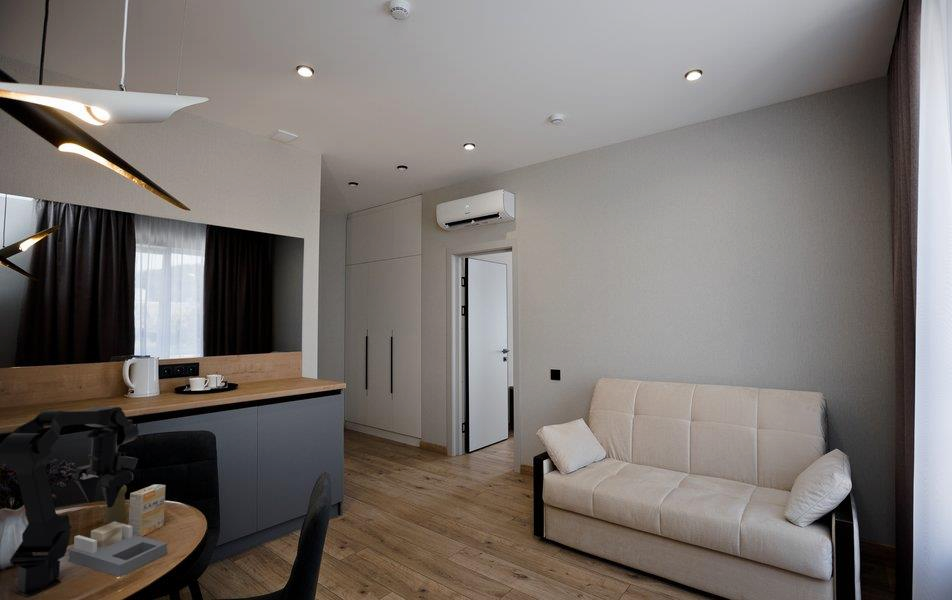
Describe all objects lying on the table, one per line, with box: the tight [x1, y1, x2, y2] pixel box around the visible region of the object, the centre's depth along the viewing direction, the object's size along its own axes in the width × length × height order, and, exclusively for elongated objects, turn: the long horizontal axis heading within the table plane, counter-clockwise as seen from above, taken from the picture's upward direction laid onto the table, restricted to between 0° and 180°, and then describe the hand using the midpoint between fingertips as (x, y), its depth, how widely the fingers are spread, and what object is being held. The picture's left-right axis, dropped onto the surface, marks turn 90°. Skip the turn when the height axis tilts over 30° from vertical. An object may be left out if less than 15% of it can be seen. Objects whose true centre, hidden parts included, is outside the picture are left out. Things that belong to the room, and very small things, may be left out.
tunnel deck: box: [68, 521, 168, 578], centre depth 123 cm, size 12×21×6 cm, turn 70°
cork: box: [103, 484, 128, 524], centre depth 146 cm, size 6×6×11 cm
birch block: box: [90, 523, 122, 549], centre depth 125 cm, size 5×5×4 cm
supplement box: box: [128, 484, 166, 537], centre depth 138 cm, size 8×5×13 cm, turn 168°
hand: (100, 504), depth 129 cm, fingers open, 9 cm apart
